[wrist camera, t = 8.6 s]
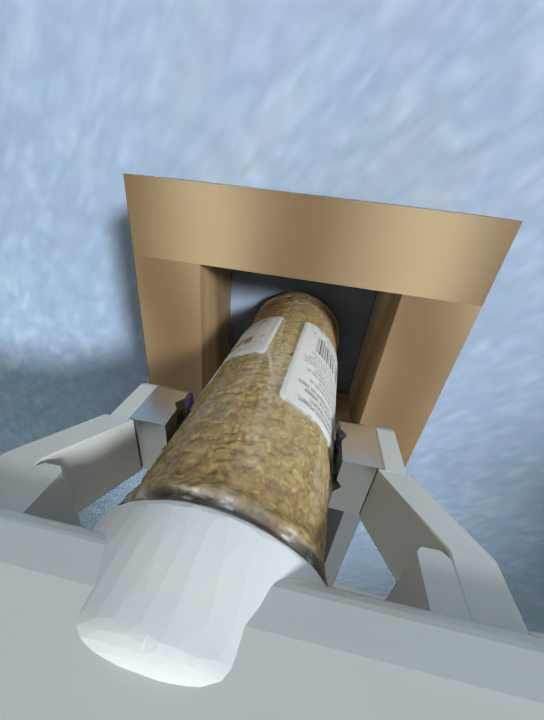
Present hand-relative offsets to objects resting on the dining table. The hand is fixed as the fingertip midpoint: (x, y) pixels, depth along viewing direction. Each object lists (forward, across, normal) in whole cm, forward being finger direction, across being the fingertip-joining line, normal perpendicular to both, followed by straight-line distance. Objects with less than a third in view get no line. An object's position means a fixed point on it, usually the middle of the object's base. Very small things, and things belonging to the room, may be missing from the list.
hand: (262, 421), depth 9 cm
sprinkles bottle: (+8, 0, 0) cm, 8 cm away
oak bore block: (+7, 0, 0) cm, 7 cm away
